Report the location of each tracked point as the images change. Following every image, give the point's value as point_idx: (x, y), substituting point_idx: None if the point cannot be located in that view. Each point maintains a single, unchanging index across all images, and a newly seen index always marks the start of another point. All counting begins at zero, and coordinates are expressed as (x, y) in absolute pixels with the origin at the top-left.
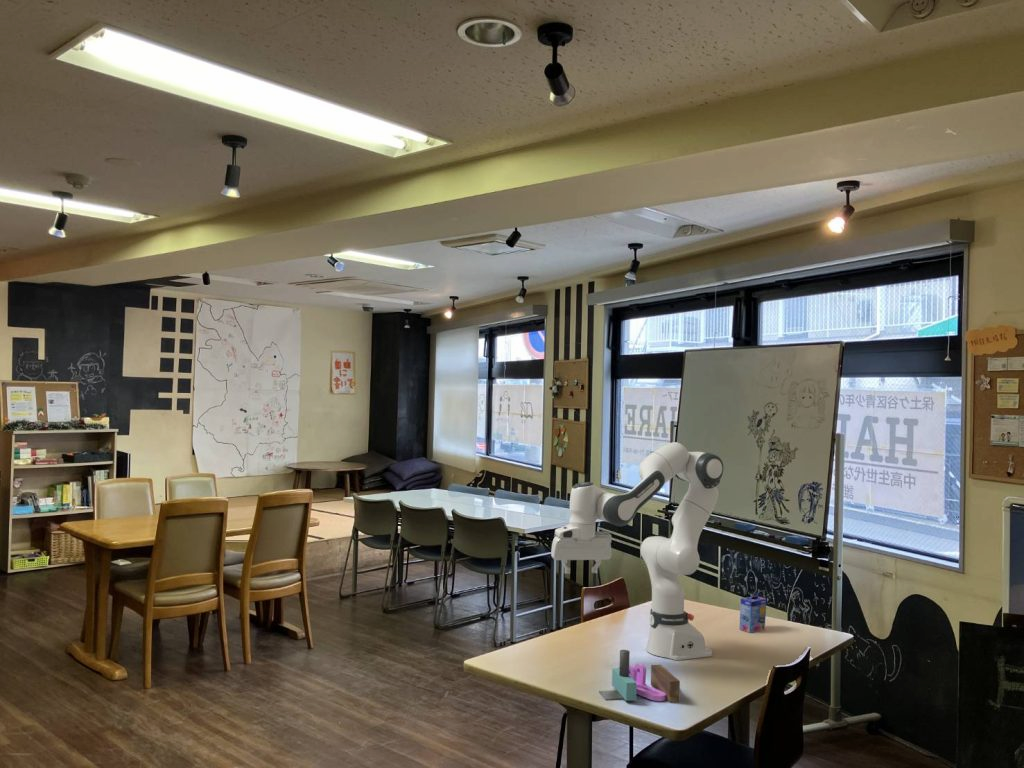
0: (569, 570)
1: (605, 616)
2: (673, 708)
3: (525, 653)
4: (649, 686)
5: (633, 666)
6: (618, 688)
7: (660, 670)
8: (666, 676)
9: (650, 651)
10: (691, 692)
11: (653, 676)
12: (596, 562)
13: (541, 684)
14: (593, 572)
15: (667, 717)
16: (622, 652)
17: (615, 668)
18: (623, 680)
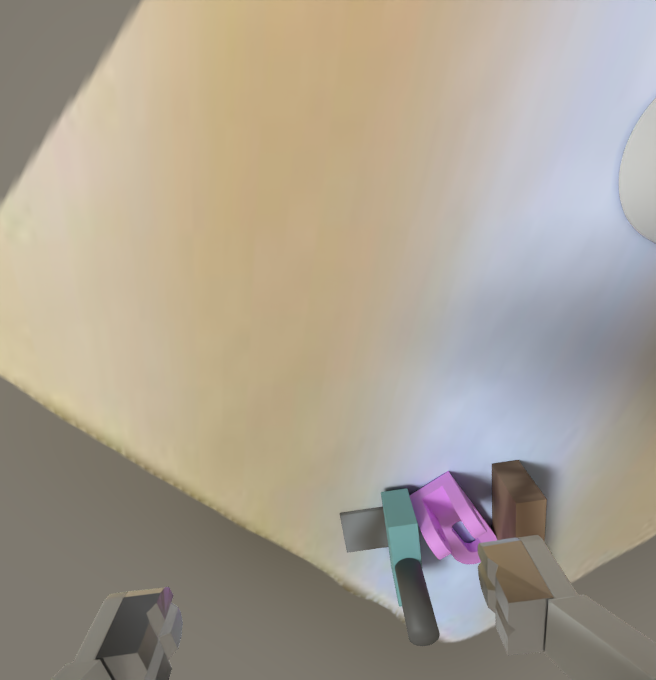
0: (162, 668)
1: None
2: None
3: (118, 209)
4: (475, 509)
5: (448, 553)
6: (387, 536)
7: None
8: None
9: (625, 195)
10: (575, 501)
11: (503, 497)
12: (640, 674)
13: (193, 474)
14: (486, 593)
15: (456, 608)
16: (413, 643)
17: (397, 527)
18: (396, 589)
